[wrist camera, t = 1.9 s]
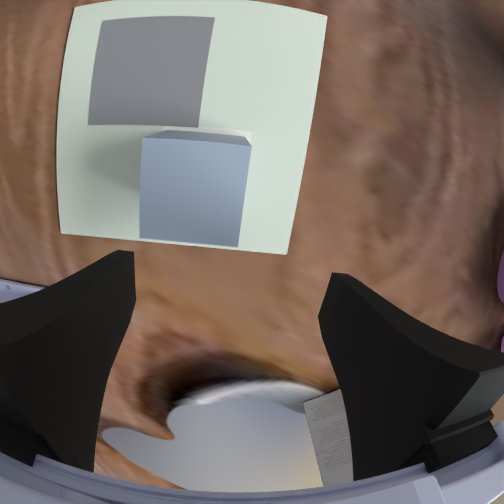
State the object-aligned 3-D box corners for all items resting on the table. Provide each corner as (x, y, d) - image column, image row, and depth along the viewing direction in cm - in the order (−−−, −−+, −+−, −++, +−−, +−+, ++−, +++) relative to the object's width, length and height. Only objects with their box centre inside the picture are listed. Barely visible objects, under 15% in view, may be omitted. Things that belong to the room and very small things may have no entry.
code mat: (62, 231, 18) (60, 233, 18) (76, 8, 12) (74, 6, 11) (285, 252, 20) (286, 255, 20) (325, 17, 14) (327, 15, 13)
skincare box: (312, 418, 30) (333, 509, 19) (302, 401, 28) (325, 503, 18) (362, 399, 29) (395, 487, 19) (356, 380, 28) (395, 478, 17)
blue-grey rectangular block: (163, 202, 18) (139, 238, 13) (168, 130, 16) (142, 137, 11) (235, 209, 18) (237, 247, 14) (245, 136, 17) (251, 146, 12)
